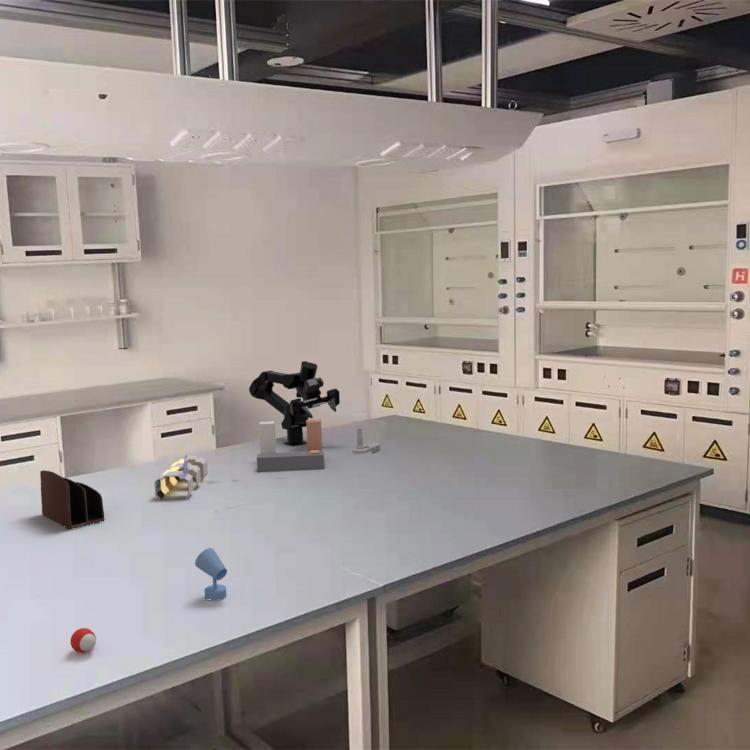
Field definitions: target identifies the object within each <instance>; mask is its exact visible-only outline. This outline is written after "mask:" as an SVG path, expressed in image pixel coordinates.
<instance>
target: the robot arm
mask: <svg viewBox="0 0 750 750" xmlns="http://www.w3.org/2000/svg"><path fill="white" fill-rule="evenodd" d="M300 365H301V366H300V370H299V371H300V372H296V373H284V372H278V371H274V370H264V371H262V372H260V374H259V376H257V377H256V378H255V379H253V380H252V382H251V383H250V386H249V388H248V391H249V394H250V396H251V397H252V398H255V399H257V400H262V401H264V402H266V403H268V404H269V405H270V406H271V407H272V408H274V409H275V410H277V412H279V413H280V414H282V415H283V420H282V422H281V423H280V424H281V428H282V429H283V430H286V436H287V440H286V441H284V442H283V443H284V444H286V445H289V446H298V445H304V444H307V440H304V432H303V428H307V426H306V420H309V419H313V418H314V417H313V414H312V413H311V412H310V409H313V408H316V407H320V406H321V405H325V404H327V405H328V406H329V408H330V409H331V410H332V411H333V412H335V413H336V412H337V406H338V405H340V403H341V400H340V391H339V390H338V388H332V389H329V390H327V391H326V396H323V397H321V395H322V392H321V390H320V388H322V387H324V380H323V378H322V377H316V375H317V370H318V364H316V363H313V362H310V361H307V360H305V361H303V360H302V361H301V364H300ZM274 384H279V385H282V386H283V388H285V389H288V390H293V389H295V390H296V393H295V394H296V398H295V399H292V400H290V402H288V401H287V400H285V399H284V398H283V397H281V396H280V395H278V394H277V393H276V392H275V391H274V390H273V387H274V386H275V385H274ZM301 398H302V399H301Z"/></svg>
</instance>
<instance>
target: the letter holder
mask: <svg viewBox="0 0 750 750" xmlns="http://www.w3.org/2000/svg"><path fill="white" fill-rule="evenodd" d="M39 473H40V474H39V477H40V497H41V498H40V499H41V514H42V516H45V517H46V518H48V519H49V520H51V519H52V520H51V521H53V520H54V521H53V522H55V523H57V524H58V523H59V525H60V524H61V525H60V526H62V525H63V526H62V527H64V526H65V527H66V528H65V527H64V528H65V529H67V528H68V529H67V530H69V529H73V528H77V527H81V526H85V527H87V526H86V525H89V526H91V525H90V524H93V523H97V522H100V521H104V520H105V511H104V503H103V502H104V501H103V496H102V494H101V493H99V491H98V490H97V489H94V488H93V487H91V486H89V485H88V484H86V483H85V484H84V483H82V482H77V481H73V480H72V479H69V478H66V477H63V476H61V475H60V474H58V473H55V472H53V471H50V470H40V472H39ZM104 522H105V521H104ZM97 524H98V523H97ZM93 525H94V524H93ZM81 528H82V527H81ZM77 529H78V528H77ZM73 530H74V529H73Z"/></svg>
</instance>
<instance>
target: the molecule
mask: <svg viewBox="0 0 750 750" xmlns="http://www.w3.org/2000/svg"><path fill="white" fill-rule="evenodd" d="M69 642H70V646H71V648H72V649H73V650H74V651H75V652H77V653H86V652H90V651H91V650H93V649H94V648H95V646H96V644H97V634H96V633H95V632H94V631H92V630H91V629H90V628H88V627H87V628H86V627H82V628H78V629H76V630H75V631H74V632H73V633H72V635H71V636H70V641H69Z"/></svg>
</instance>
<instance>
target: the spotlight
mask: <svg viewBox="0 0 750 750" xmlns="http://www.w3.org/2000/svg"><path fill="white" fill-rule="evenodd" d="M194 565H195V567H196V568H198V570H201V571H202V572H204V573H205V574H207V575H208V576H210V577H211V578H212V584H211V585H209V586H206V587H204V589H203V590H204V592H203V593H204V599H205V598H206V599H205V600H207V599H211V600H215V601H219V600H218V599H220V600H223V599H225V598H226V597H227V586H225V585H224V584H218V582H217V581H221V580H223V579H224V578H225V577H226V575H228V569H227V568H226V566H225V565H224V563H223V562H222V560H221V558H220V557H219V556H218V554H217V552H216V550H215V549H214V548H212V547H209V548H206V549H204V550H203V551H202V552H200V553H199V554H198V555H197V557H196V559H195V562H194ZM224 597H225V598H224ZM222 598H223V599H222ZM211 600H210V601H211Z"/></svg>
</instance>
